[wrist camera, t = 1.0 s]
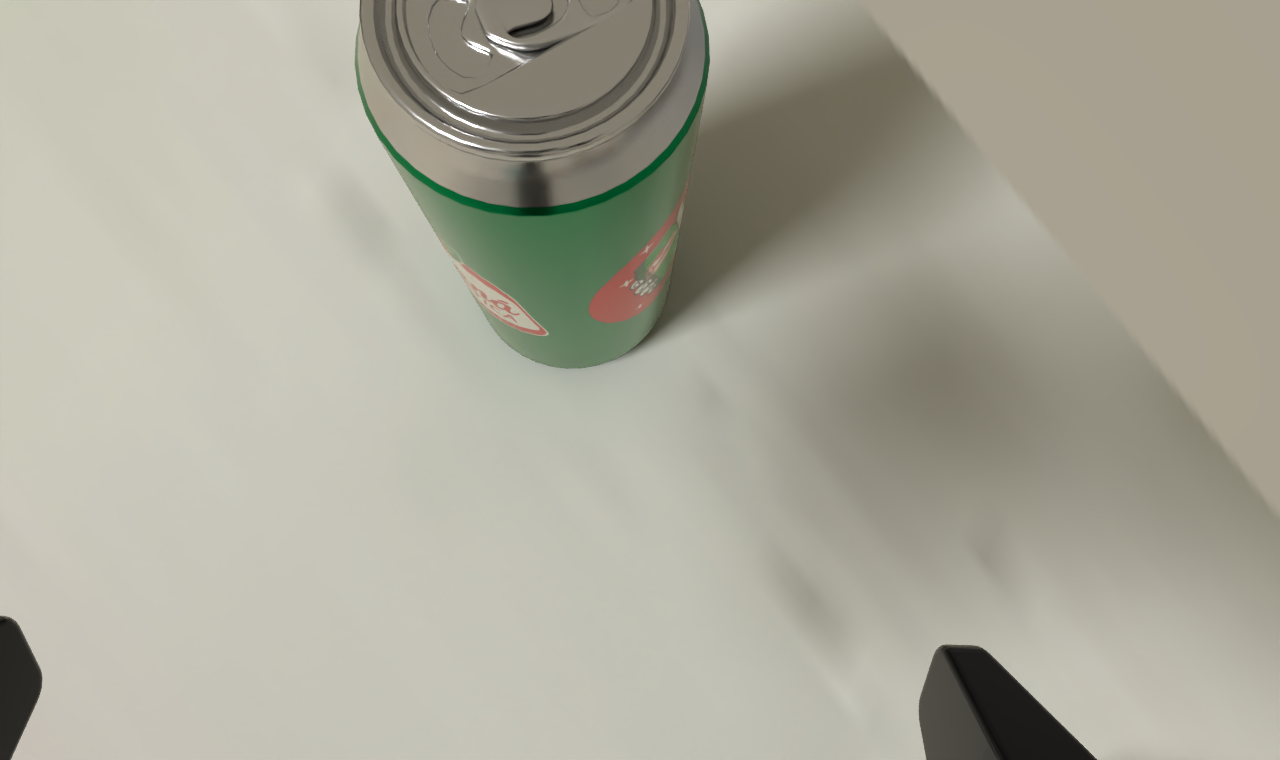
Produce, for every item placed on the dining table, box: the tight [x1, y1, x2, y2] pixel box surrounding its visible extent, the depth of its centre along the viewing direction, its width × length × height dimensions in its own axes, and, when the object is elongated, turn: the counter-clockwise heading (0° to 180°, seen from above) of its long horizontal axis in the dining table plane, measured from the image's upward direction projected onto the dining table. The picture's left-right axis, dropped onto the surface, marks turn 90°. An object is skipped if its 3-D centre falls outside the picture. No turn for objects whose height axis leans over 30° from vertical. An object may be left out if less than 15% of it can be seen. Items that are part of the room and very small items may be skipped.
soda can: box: [355, 0, 710, 368], centre depth 17 cm, size 5×5×12 cm
